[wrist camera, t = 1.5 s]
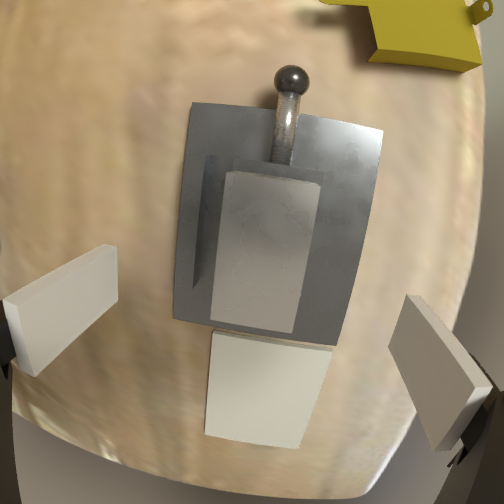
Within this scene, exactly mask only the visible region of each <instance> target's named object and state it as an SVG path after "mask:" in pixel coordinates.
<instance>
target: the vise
mask: <svg viewBox="0 0 504 504" xmlns="http://www.w3.org/2000/svg"><path fill="white" fill-rule="evenodd" d="M274 85H275V88H276V89H277V91H278V92H279V97H278V104H277V110H272V109H264V108H256V107H247V106H237V105H226V104H212V103H196V102H192V108H191V115H190V122H189V129H188V136H187V144H186V152H185V160H184V169H183V178H182V188H181V198H180V209H179V220H178V233H177V247H176V262H175V281H174V304H173V318H174V319H179V320H183V321H188V322H193V323H198V324H202V325H207V326H213V327H218V328H223V329H228V330H234V331H239V332H245V333H251V334H257V335H263V336H269V337H275V338H282V339H288V340H295V341H302V342H310V343H317V344H325V345H333V346H336V345H337V341H338V338H339V335H340V332H341V328H342V325H343V321H344V318H345V314H346V311H347V307H348V304H349V300H350V296H351V293H352V289H353V285H354V281H355V277H356V273H357V269H358V265H359V261H360V257H361V252H362V248H363V243H364V239H365V234H366V230H367V225H368V220H369V215H370V210H371V205H372V199H373V194H374V188H375V183H376V177H377V171H378V164H379V158H380V151H381V144H382V137H383V131H382V130H378V129H374V128H370V127H365V126H361V125H357V124H352V123H348V122H343V121H338V120H333V119H328V118H323V117H317V116H311V115H306V114H300V113H299V106H300V99H301V96H302V95H303V94H304V93H305V92H306V91H307V90H308V88H309V77H308V74H307V73H306V72H305V70H303V69H302V68H301V67H299V66H295V65H287V66H284V67H282V68H280V69H279V70H278V71H277V73H276V74H275V77H274ZM231 171H241V172H249V173H256V174H263V175H270V176H276V177H283V178H289V179H295V180H301V181H307V182H313V183H316V184H318V185H319V186H320V187H321V188H320V194H319V200H318V206H317V212H316V217H315V223H314V228H313V234H312V239H311V244H310V250H309V255H308V260H307V265H306V270H305V275H304V280H303V285H302V289H301V294H300V299H299V304H298V308H297V313H296V317H295V322H294V326H293V331H292V333H285V332H279V331H272V330H266V329H260V328H254V327H248V326H242V325H237V324H231V323H226V322H221V321H215V320H210V317H211V306H212V295H213V285H214V275H215V265H216V256H217V247H218V238H219V229H220V220H221V211H222V203H223V195H224V187H225V179H226V172H231Z"/></svg>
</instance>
